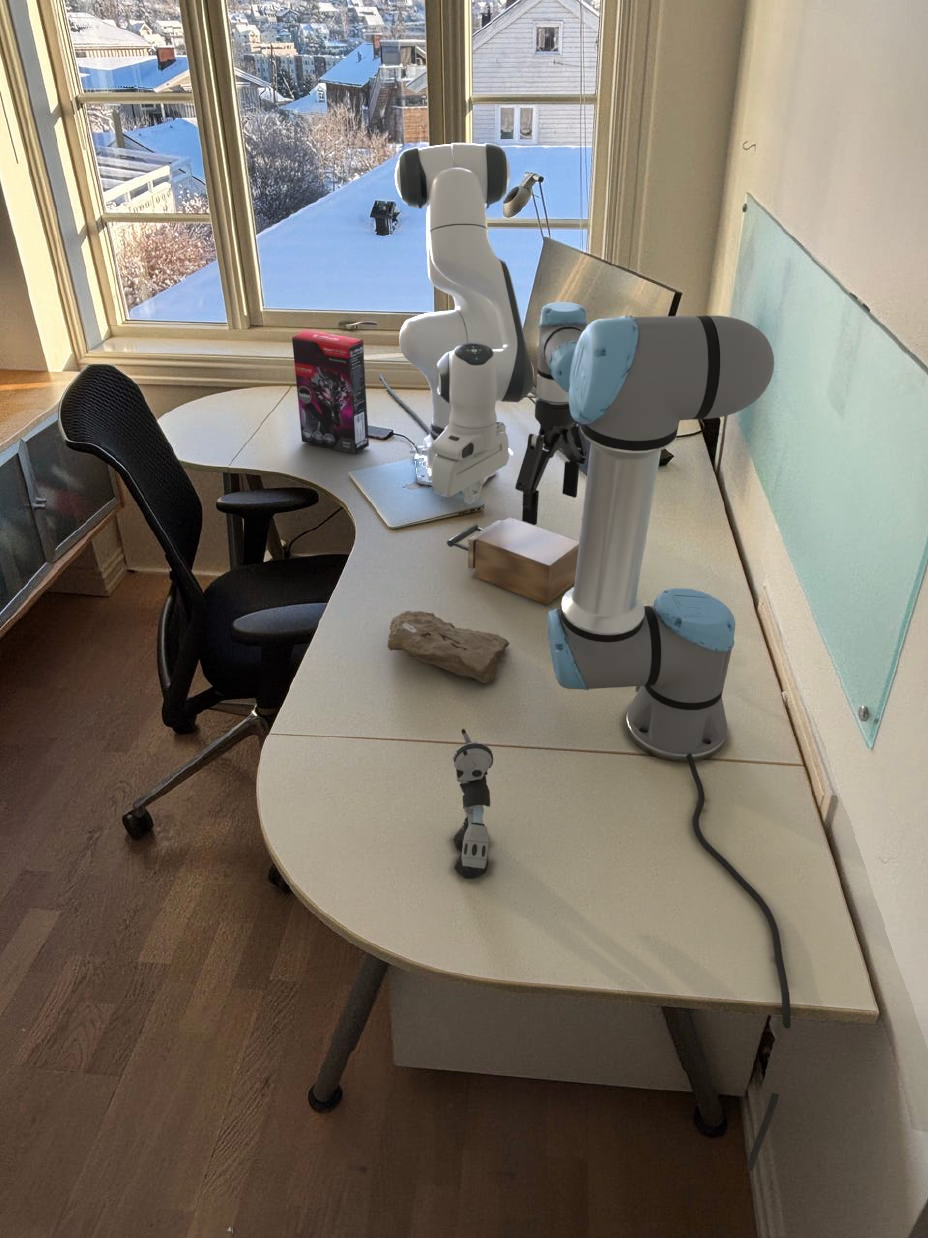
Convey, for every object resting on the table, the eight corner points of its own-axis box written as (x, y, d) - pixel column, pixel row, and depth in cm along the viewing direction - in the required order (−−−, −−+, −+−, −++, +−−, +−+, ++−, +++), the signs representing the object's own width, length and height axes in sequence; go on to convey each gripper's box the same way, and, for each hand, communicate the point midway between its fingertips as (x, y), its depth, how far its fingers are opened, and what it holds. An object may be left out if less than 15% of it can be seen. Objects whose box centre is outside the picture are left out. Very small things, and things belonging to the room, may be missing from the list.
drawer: (445, 558, 185) (444, 529, 181) (474, 539, 191) (475, 511, 188) (533, 593, 174) (534, 563, 170) (561, 571, 181) (563, 542, 177)
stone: (364, 657, 153) (371, 625, 150) (394, 627, 166) (401, 597, 164) (483, 699, 149) (492, 667, 147) (504, 665, 163) (513, 635, 160)
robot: (495, 914, 114) (500, 797, 103) (456, 915, 114) (456, 798, 103) (484, 799, 130) (487, 688, 119) (450, 801, 130) (450, 689, 119)
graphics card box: (299, 442, 234) (289, 335, 219) (315, 433, 239) (306, 328, 224) (356, 456, 228) (349, 346, 213) (371, 446, 233) (365, 338, 218)
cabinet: (474, 576, 181) (475, 538, 176) (507, 554, 188) (509, 516, 184) (546, 605, 173) (549, 565, 168) (578, 580, 180) (581, 542, 175)
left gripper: (491, 413, 181) (489, 478, 189) (425, 446, 167) (426, 514, 175) (518, 421, 178) (515, 486, 186) (453, 455, 164) (453, 524, 172)
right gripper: (577, 372, 167) (568, 479, 179) (497, 414, 151) (493, 528, 163) (613, 381, 164) (602, 489, 176) (535, 425, 147) (529, 541, 159)
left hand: (471, 500), depth 180 cm, fingers closed
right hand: (550, 508), depth 169 cm, fingers open, 13 cm apart
